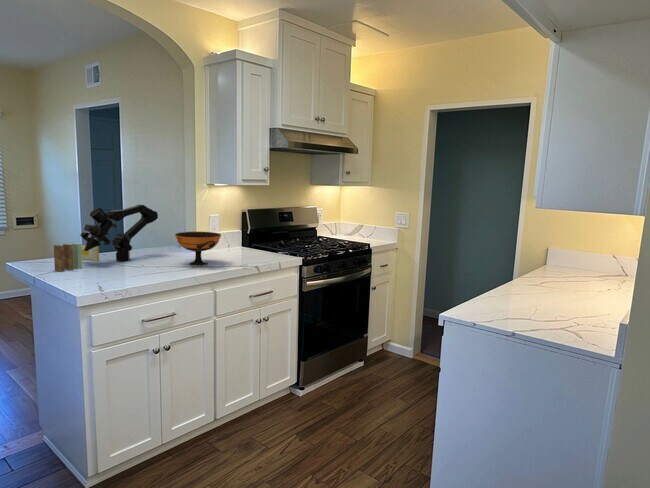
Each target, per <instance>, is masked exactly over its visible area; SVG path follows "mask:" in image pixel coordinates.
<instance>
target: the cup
mask: <svg viewBox="0 0 650 488" xmlns="http://www.w3.org/2000/svg"><path fill="white" fill-rule="evenodd" d="M174 235H175V239H176V240H177V243H178V244H179V246H181V247H182V248H183V249H185V250H188V251H191V252H195V257H194V258H195V259H194V261H192V262H189V263H188V265H189V264H190V265H189V266H192V265H196V266H195V267H200V266H199V265H204V266H208V262H205V261H203V260H202V252H205V251H209V250H211V249H214V248H215V247H216V246H217V245H218V243H219V241H220V239H221V237H222V234H221V233H219V232H214V231H183V232H182V231H181V232H177V233H174Z"/></svg>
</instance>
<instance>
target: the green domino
mask: <svg viewBox="0 0 650 488" xmlns="http://www.w3.org/2000/svg"><path fill="white" fill-rule="evenodd" d="M71 245H72V246H73V269H77V270H79V269H83V260H82V251H81V246H82V243H78V242H73V243H72V242H71Z"/></svg>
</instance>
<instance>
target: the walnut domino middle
mask: <svg viewBox="0 0 650 488" xmlns="http://www.w3.org/2000/svg"><path fill="white" fill-rule="evenodd" d="M62 246H63V247H64V270H68V271H72V270H74V268H73V246H72V244H69V243H63V244H62Z"/></svg>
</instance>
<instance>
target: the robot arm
mask: <svg viewBox="0 0 650 488" xmlns="http://www.w3.org/2000/svg"><path fill="white" fill-rule="evenodd" d="M138 213H139V214H140V215H141V216H140V219H139V220H138V221H137V222H136V223H134V224H133V225H132V226H130V228H128V229H127V230H126V232H124V233H117V234H116V235H115V236H114V237H113V239H112V242H111V240H110V239H109V238H108V237H107V236H108V235H109V231H110V230H111V229H112V228H115V229H116V228H117V224H116V223H117V222H120V221H122V220H124V219H125V218H126V217H129V216H132V215H135V214H136V215H137V214H138ZM89 217H90V218H92V220H94V221H95V222H96V224H92V225H91V224H88V223H87V224H85V225H84V228H83V232H81V233H80V234H79V236H80V237H81V238H82V239H83V240H84V241H86V244H85V245H84V246H85V249H84V250H85V251H88V250H90V249H92V248H94V247H99V246H101V245H102V244H101V243H103V245H105V246H109V245H110V244H111V243H112V246H113V248H114V250H116V252H115V261H116V262H129V261H131V255H130V253H131V252H130V251H132V250H133V246H132V245H131V244H130V243H131V240H132V239H133V238H134V236H136V235H137V234H138V233H139V232H140V231H142V230H143V229H144V228H145V227H146V226H147V225H148V224H152V223H153V222H156V221H157V220H158V219H159V214H158V212H157V211H156V210H153V209H152V208H149V207H147V206H146V205H144V204H136V205H133V206H130V207H126V208H124V209H110V210H108V211H107V212H105V211H104V210H103V209H102V207H97V208H95V209H93V210H92V211H91V212H90V213H89ZM97 224H98V225H97ZM85 231H86V232H85Z"/></svg>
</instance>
